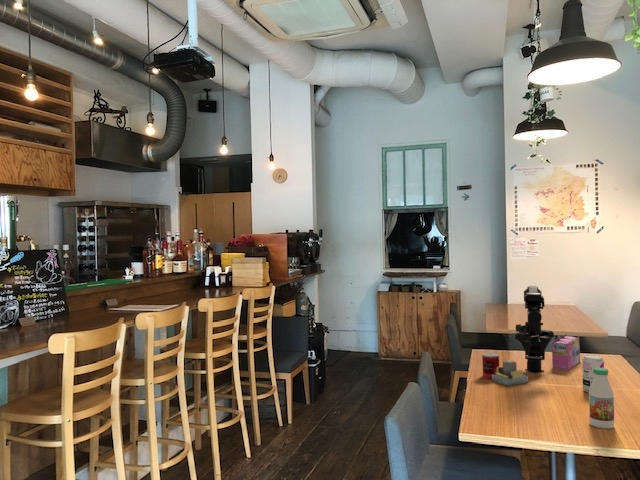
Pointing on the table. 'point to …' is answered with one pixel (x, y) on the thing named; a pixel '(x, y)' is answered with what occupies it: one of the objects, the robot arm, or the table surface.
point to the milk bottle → (601, 400)
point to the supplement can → (590, 369)
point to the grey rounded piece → (509, 367)
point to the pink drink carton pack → (565, 352)
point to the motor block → (515, 378)
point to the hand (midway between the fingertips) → (535, 353)
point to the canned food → (490, 364)
